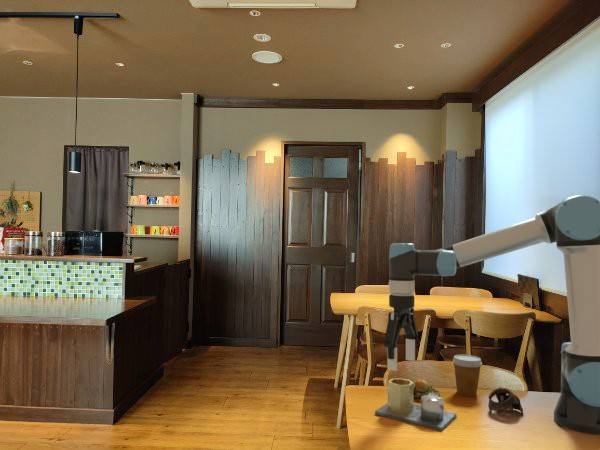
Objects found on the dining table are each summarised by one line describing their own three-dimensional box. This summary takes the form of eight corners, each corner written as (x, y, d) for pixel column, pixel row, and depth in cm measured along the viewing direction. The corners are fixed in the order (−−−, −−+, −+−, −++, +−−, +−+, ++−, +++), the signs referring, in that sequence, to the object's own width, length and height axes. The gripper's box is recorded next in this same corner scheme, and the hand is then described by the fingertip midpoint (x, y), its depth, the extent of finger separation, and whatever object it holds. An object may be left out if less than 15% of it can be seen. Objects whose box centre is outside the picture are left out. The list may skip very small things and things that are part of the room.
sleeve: (415, 408, 147) (416, 381, 147) (406, 414, 141) (407, 387, 142) (394, 403, 151) (394, 377, 151) (384, 409, 145) (385, 382, 146)
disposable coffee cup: (484, 392, 167) (484, 357, 167) (478, 399, 159) (478, 362, 159) (456, 387, 172) (456, 352, 172) (448, 394, 164) (449, 358, 164)
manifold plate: (456, 417, 143) (456, 396, 143) (441, 431, 132) (442, 409, 133) (393, 402, 154) (393, 383, 155) (375, 414, 144) (375, 393, 144)
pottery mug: (530, 420, 143) (520, 397, 142) (500, 432, 145) (490, 409, 143) (515, 396, 155) (505, 375, 153) (487, 407, 156) (477, 386, 155)
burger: (445, 396, 163) (445, 373, 163) (433, 406, 153) (433, 382, 153) (410, 389, 169) (411, 367, 169) (397, 398, 160) (397, 375, 160)
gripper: (406, 289, 159) (406, 355, 159) (371, 297, 139) (371, 372, 138) (428, 291, 155) (428, 358, 155) (396, 299, 135) (396, 376, 134)
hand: (401, 365), depth 146 cm, fingers open, 13 cm apart
